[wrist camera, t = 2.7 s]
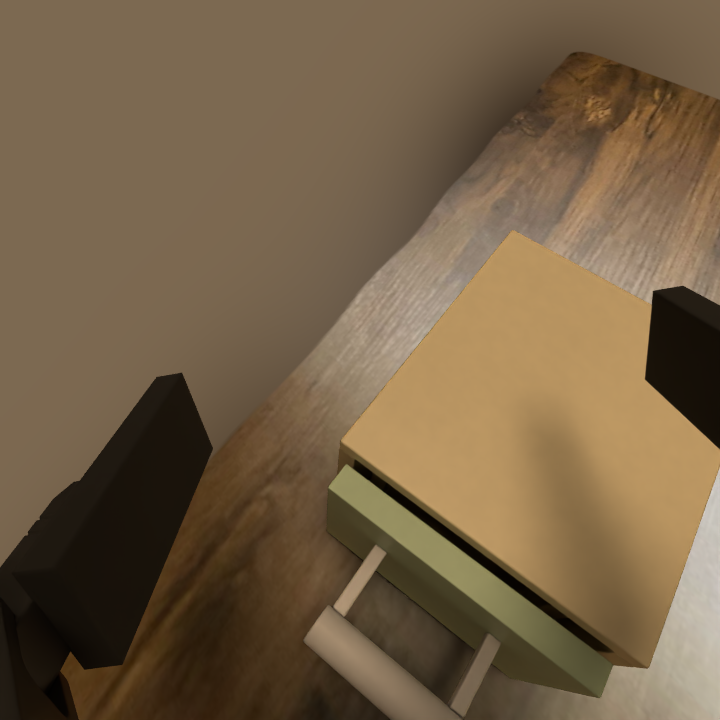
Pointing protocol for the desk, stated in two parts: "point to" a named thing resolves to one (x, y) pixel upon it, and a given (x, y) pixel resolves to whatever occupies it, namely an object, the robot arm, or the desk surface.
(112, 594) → the robot arm
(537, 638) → the drawer
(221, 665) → the desk surface
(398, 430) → the cabinet
